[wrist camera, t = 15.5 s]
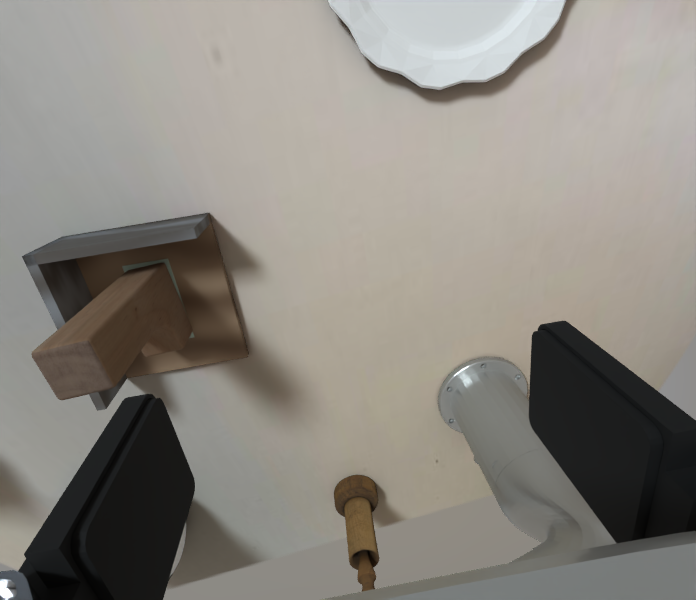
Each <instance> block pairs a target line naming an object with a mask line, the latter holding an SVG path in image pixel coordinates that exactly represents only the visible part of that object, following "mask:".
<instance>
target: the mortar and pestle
mask: <svg viewBox="0 0 696 600" xmlns="http://www.w3.org/2000/svg"><path fill="white" fill-rule="evenodd" d="M334 499H335V507H336V510H337V511H338V513H339V514H341V515H342V516H344V517H345V520H346V531H347V542H348V552H349V562H350V565H351V566H352V567H353V568H355V569H357V570H358V582H359V583H360V584H362V586H363V589H362V592H363V591H368V590H373V589H375V588H374V581H375V580H376V575H375V571H374V569H373V567H375V566H376V565H377V563H378V561H379V555H378V549H377V543H376V537H375V531H374V525H373V518H372V512H373V511H374V510H375V508H376V507H377V504H378V496H377V489H376V485H375V483H374V482H373V481H372V480H371V479H370V478H368V477H366V476H362V475H353V476H349V477H347V478H345V479H343V480H341V481H340V482H339V483H338V484H337V486H336V487H335V490H334Z"/></svg>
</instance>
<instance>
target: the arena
mask: <svg viewBox="0 0 696 600" xmlns="http://www.w3.org/2000/svg"><path fill="white" fill-rule="evenodd" d="M22 258H23V260H24V262H25V264H26V266H27V268H28V270H29V272H30V274H31V276H32V278H33V280H34V282H35V284H36V286H37V288H38V290H39V292H40V294H41V297H42V299H43V301H44V303H45V305H46V307H47V309H48V311H49V313H50V315H51V317H52V319H53V321H54V323H55V325H56V327H57V329H60V328H61V327H62V326H63V325H64V324H65V323H67V322H68V321H69V320H70V319H71V318H72V317H74V316H75V315H76V314H77V313H78V312H79V311H81V310H82V309H83V308H84V307H85V306H86V305H88V304H89V303H90V302H91V301H92V300H93V299H95V298H96V297H97V296H98V295H99V294H100V293H102V292H103V291H104V290H105V289H106V288H107V287H109V286H110V285H111V284H112V283H113V282H114V281H116V280H117V279H118V278H119V277H120V276H122V275H123V274H124V273H125V272H126V271H128V270H131V269H135V268H140V267H144V266H148V265H153V264H157V263H165V264H166V266H167V269H168V271H169V274H170V276H171V278H172V281H173V283H174V286H175V288H176V290H177V293H178V295H179V298H180V300H181V302H182V305H183V307H184V310H185V312H186V314H187V317H188V319H189V322H190V324H191V326H192V329H193V332H192V334H191V336H190V337H189V339H188V341H187V343H186V345H185V347H184V348H183V349H180V350H176V351H172V352H167V353H163V354H159V355H154V356H150V357H146V356H144V354H143V353H142V351H140V353H139V354H138V356H137V357H136V358H135V360H134V361H133V363H132V364H131V365H130V367H129V368H128V370H127V371H126V372H125V374H124V375H123V377H122V378H121V380H120V381H119V382H118V384H117V385H116V386H115V387H114V388H112V389H108V390H104V391H100V392H96V393H91V394H89V395H90V397H91V399H92V401H93V403H94V405H95V407H96V409H97V410H103V409H106V408H107V407H108V406H109V404H110V403H111V401H112V400H113V398H114V397H115V395H116V394H117V392H118V391H119V389H120V388H121V387H122V385H123V384H124V382H125V381H126V379H127V378H131V377H137V376H142V375H148V374H154V373H159V372H165V371H171V370H177V369H182V368H188V367H194V366H199V365H205V364H211V363H216V362H222V361H228V360H234V359H239V358H245V357H248V354H249V352H248V349H247V345H246V342H245V338H244V334H243V331H242V327H241V324H240V320H239V317H238V313H237V310H236V306H235V302H234V299H233V295H232V292H231V288H230V285H229V281H228V278H227V274H226V271H225V267H224V263H223V260H222V256H221V253H220V249H219V246H218V242H217V239H216V235H215V231H214V228H213V224H212V221H211V217H210V214H209V213H205V214H199V215H193V216H187V217H181V218H174V219H168V220H162V221H156V222H150V223H144V224H138V225H132V226H126V227H120V228H113V229H107V230H101V231H95V232H89V233H83V234H77V235H71V236H65V237H61V238H59V239H57V240H55V241H53V242H50V243H48V244H46V245H44V246H42V247H40V248H38V249H36V250H34V251H32V252H30V253H28V254H26V255H24V256H22Z"/></svg>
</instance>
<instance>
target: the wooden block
mask: <svg viewBox="0 0 696 600" xmlns="http://www.w3.org/2000/svg"><path fill="white" fill-rule="evenodd" d="M192 332H193V329H192V326H191V324H190V322H189V319H188V317H187V314H186V312H185V310H184V307H183V305H182V302H181V300H180V298H179V295H178V293H177V290H176V288H175V286H174V283H173V281H172V278H171V276H170V274H169V271H168V269H167V266H166V264H165V263H157V264H153V265H148V266H144V267H140V268H135V269H131V270H128V271H126V272H125V273H124V274H123V275H122V276H120V277H119V278H118V279H117V280H116V281H114V282H113V283H112V284H111V285H110V286H109V287H107V288H106V289H105V290H104V291H103V292H102V293H100V294H99V295H98V296H97V297H96V298H95V299H93V300H92V301H91V302H90V303H89V304H88V305H86V306H85V307H84V308H83V309H82V310H81V311H79V312H78V313H77V314H76V315H75V316H74V317H72V318H71V319H70V320H69V321H68V322H67V323H65V324H64V325H63V326H62V327H61V328H60V329H58V330H57V331H56V332H55V333H54V334H53V335H51V336H50V337H49V338H48V339H47V340H45V341H44V342H43V343H42V344H41V345H40V346H38V347H37V348H36V349H35V350H34V351H33V352H32V358H33V359H34V361H35V362H36V364H37V366H38V367H39V369H40V371H41V372H42V374H43V375H44V377H45V379H46V380H47V382H48V383H49V385H50V387H51V388H52V390H53V392H54V393H55V395H56V396H57V398H58V399H60V400H66V399H70V398H74V397H79V396H83V395H87V394H91V393H96V392H100V391H104V390H108V389H112V388H114V387H115V386H116V385H117V384H118V382H119V381H120V380H121V378H122V377H123V375H124V374H125V372H126V371H127V370H128V368H129V367H130V365H131V364H132V363H133V361H134V360H135V358H136V357H137V356H138V354H139V353H140V351H142V353H143V354H144V356H146V357H150V356H154V355H159V354H163V353H167V352H172V351H176V350H180V349H183V348H184V347H185V345H186V343H187V341H188V339H189V337H190V336H191V334H192Z"/></svg>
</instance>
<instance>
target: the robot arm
mask: <svg viewBox="0 0 696 600" xmlns="http://www.w3.org/2000/svg"><path fill="white" fill-rule="evenodd" d="M527 392H528V389H527V382H526V379H525V377H524V375H523V374H522V372H521V371H520V370H519V369H518V368H517V367H516V366H515V365H514V364H512V363H511V362H509V361H507V360H505V359H501V358H497V357H484V358H478V359H474V360H471V361H469V362H467V363H465V364H462V365H461V366H459V367H458V368H457V369H455V370H454V371H453V372H452V373H451V374H450V375H449V376H448V377H447V378H446V380H445V381H444V382H443V384H442V386H441V388H440V391H439V395H438V407H439V411H440V413H441V416H442V418H443V419H444V421H445V423H447V424H448V425H449V426H450V427H451V428H452V429H454V430H456V431H458V432H461V433H463V435H464V437H465V438H466V440H467V442H468V444H469V446H470V448H471V450H472V452H473V454H474V461H475V462H476V463H477V464H479V466H480V468H481V470H482V472H483V474H484V476H485V478H486V480H487V482H488V484H489V486H490V488H491V490H492V492H493V494H494V496H495V498H496V500H497V502H498V504H499V506H500V508H501V509H502V511H503V513H504V514H505V516H506V517H507V518H508V519H509V521H510V522H511V523H512V524H514V526H516V527H517V528H518V529H519V530H521V531H522V532H524V533H525V534H527V535H528V536H530V537H532V538H534V539H536V540H538V541H540V542H542V543H541V544H540V545H538V546H537V547H535V548H533V550H532V551H530V552H528V553H526V554H524V555H523V556H521V557H519V558H517V559H515V560H514V561H512V562H510V563H508V564H503V565H498V566H492V567H487V568H482V569H476V570H471V571H466V572H461V573H455V574H450V575H446V576H440V577H435V578H430V579H424V580H419V581H414V582H409V583H404V584H399V585H393V586H388V587H383V588H379V589H373V590H368V591H363V592H358V593H353V594H347V595H342V596H337V597H332V598H327V599H322V600H696V420H694V419H693V418H691V417H690V416H689V415H688V414H686V413H685V412H684V411H682V410H681V409H680V408H679V407H677V406H676V405H674V404H673V403H672V402H671V401H669V400H668V399H667V398H666V397H664V396H663V395H662V394H660V393H659V392H658V391H657V390H655V389H654V388H653V387H651V386H650V385H649V384H647V383H646V382H645V381H644V380H642V379H641V378H640V377H638V376H637V375H636V374H634V373H633V372H632V371H630V370H629V369H628V368H627V367H625V366H624V365H623V364H621V363H620V362H619V361H617V360H616V359H615V358H614V357H612V356H611V355H610V354H608V353H607V352H606V351H604V350H603V349H602V348H601V347H599V346H598V345H597V344H595V343H594V342H593V341H591V340H590V339H589V338H588V337H586V336H585V335H584V334H582V333H581V332H580V331H578V330H577V329H576V328H575V327H573V326H572V325H571V324H569V323H568V322H566V321H558V322H553V323H547V324H542V325H540V326H539V328H538V331H535V332H534V333H533V335H532V349H531V372H530V396H529V400H528V398H527ZM194 491H195V482H194V477H193V475H192V472H191V470H190V467H189V465H188V462H187V460H186V457H185V455H184V452H183V450H182V447H181V445H180V442H179V440H178V437H177V435H176V432H175V430H174V427H173V425H172V422H171V420H170V417H169V415H168V412H167V410H166V407H165V405H164V403H163V401H162V400H161V399H160V398H155V397H154V396H153V395H152V394H145V395H139V396H134V397H128V398H125V399H124V400H123V401H122V403H121V405H120V406H119V408H118V409H117V411H116V412H115V414H114V415H113V417H112V419H111V420H110V422H109V423H108V425H107V426H106V428H105V429H104V431H103V433H102V434H101V436H100V437H99V439H98V440H97V442H96V443H95V445H94V446H93V448H92V450H91V451H90V453H89V454H88V456H87V457H86V459H85V460H84V462H83V464H82V465H81V467H80V468H79V470H78V471H77V473H76V474H75V476H74V478H73V479H72V481H71V482H70V484H69V485H68V487H67V488H66V490H65V492H64V493H63V495H62V496H61V498H60V499H59V501H58V502H57V504H56V506H55V507H54V509H53V510H52V512H51V513H50V515H49V516H48V518H47V519H46V521H45V523H44V524H43V526H42V527H41V529H40V530H39V532H38V533H37V535H36V537H35V538H34V540H33V541H32V543H31V544H30V546H29V547H28V549H27V551H26V552H25V554H24V555H25V557H26V560H25V561H24V563H23V565H22V566H21V568H20V569H19V571H15V570H10V571H1V572H0V600H163V597H164V594H165V591H166V587H167V584H168V580H169V577H170V574H171V570H172V567H173V563H174V560H175V557H176V553H177V550H178V546H179V543H180V540H181V536H182V533H183V529H184V526H185V523H186V519H187V516H188V512H189V509H190V506H191V502H192V499H193V495H194Z"/></svg>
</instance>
